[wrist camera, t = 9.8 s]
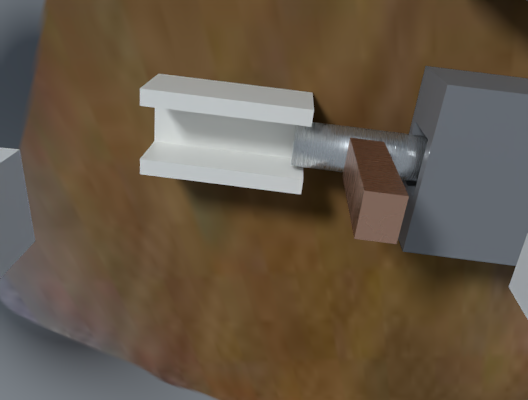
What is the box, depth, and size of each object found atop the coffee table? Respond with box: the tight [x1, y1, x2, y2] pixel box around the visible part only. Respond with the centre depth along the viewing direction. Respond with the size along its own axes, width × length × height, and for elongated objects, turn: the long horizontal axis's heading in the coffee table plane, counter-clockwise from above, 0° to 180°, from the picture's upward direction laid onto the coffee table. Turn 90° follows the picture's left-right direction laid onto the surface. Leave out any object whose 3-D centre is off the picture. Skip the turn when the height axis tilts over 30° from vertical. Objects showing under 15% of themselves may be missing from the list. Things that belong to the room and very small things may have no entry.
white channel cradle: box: [140, 74, 314, 194], centre depth 38 cm, size 6×12×5 cm, turn 84°
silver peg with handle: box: [291, 122, 428, 244], centre depth 33 cm, size 3×16×12 cm, turn 84°
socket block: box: [398, 66, 528, 266], centre depth 37 cm, size 12×9×6 cm
